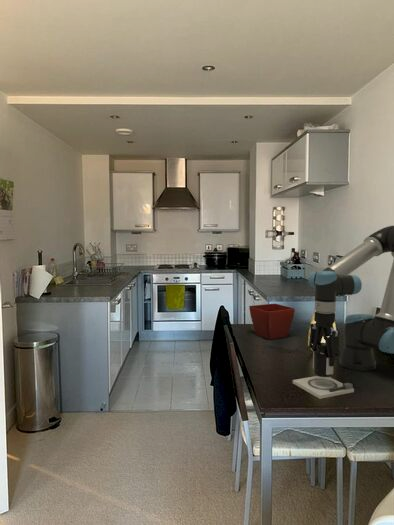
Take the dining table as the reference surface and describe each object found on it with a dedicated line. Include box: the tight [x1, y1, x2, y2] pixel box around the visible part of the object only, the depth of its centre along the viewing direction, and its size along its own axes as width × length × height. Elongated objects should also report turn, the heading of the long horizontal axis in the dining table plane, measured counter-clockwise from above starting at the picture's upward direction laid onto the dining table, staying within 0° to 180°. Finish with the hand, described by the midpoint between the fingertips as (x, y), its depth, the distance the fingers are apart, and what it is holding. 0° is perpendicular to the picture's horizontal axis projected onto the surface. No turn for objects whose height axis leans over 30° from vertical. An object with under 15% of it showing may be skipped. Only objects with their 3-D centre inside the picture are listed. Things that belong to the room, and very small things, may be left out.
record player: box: [292, 375, 355, 400], centre depth 152 cm, size 16×16×3 cm
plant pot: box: [248, 303, 296, 340], centre depth 226 cm, size 19×19×17 cm
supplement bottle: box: [313, 342, 333, 377], centre depth 151 cm, size 7×7×12 cm
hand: (322, 370), depth 152 cm, fingers closed on supplement bottle, 7 cm apart
